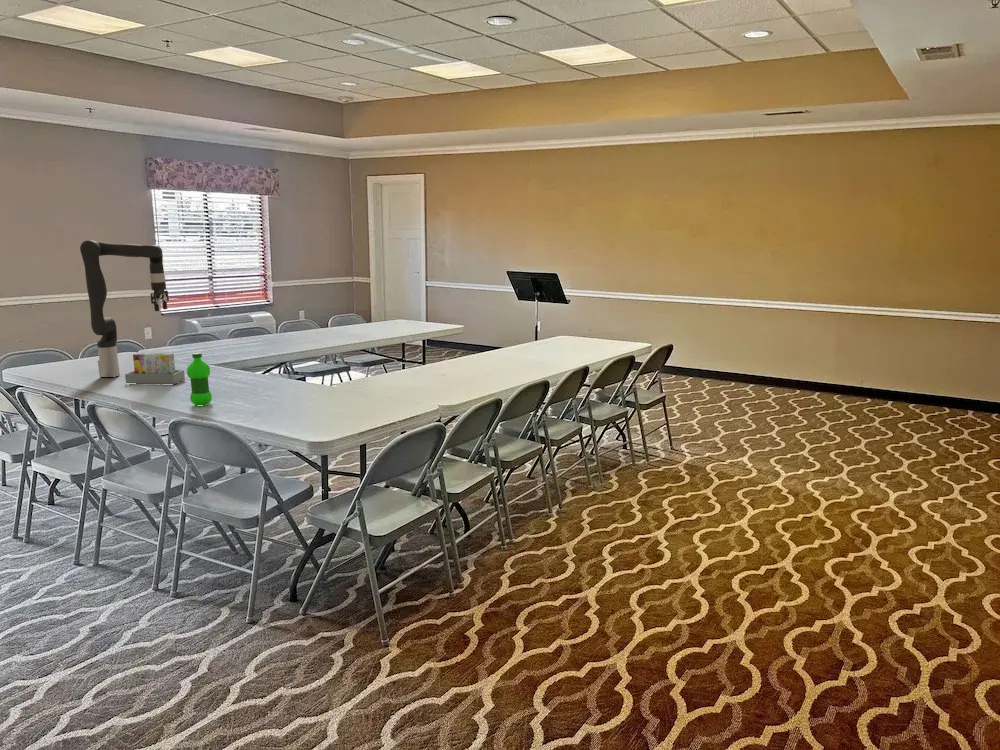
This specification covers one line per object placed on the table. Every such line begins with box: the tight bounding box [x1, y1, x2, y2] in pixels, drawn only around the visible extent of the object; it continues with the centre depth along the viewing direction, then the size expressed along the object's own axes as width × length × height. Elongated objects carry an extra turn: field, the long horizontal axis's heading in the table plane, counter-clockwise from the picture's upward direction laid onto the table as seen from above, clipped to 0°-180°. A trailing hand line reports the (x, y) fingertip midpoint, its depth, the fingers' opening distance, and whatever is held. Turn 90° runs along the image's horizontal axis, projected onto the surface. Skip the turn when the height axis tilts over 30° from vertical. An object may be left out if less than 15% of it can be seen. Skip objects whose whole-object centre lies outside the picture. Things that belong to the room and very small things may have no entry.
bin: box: [124, 369, 186, 385], centre depth 398 cm, size 27×12×6 cm, turn 86°
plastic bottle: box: [186, 352, 213, 406], centre depth 349 cm, size 10×10×25 cm
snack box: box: [132, 352, 176, 374], centre depth 397 cm, size 21×6×15 cm, turn 80°
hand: (161, 310), depth 416 cm, fingers open, 8 cm apart
